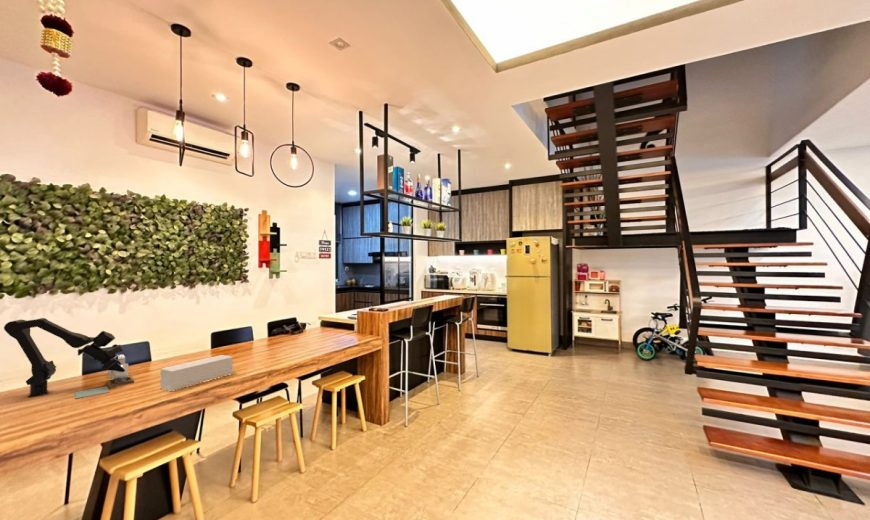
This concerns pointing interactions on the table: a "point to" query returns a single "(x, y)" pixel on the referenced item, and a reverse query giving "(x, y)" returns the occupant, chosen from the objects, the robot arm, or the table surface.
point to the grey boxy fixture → (121, 359)
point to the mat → (91, 392)
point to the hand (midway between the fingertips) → (124, 369)
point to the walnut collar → (120, 382)
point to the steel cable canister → (121, 374)
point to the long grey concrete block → (195, 372)
